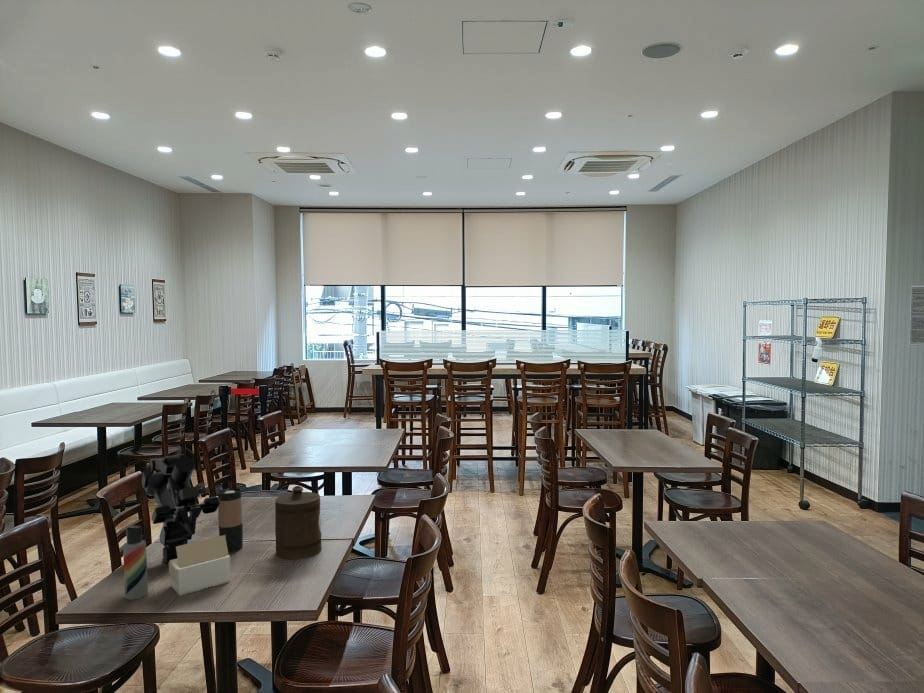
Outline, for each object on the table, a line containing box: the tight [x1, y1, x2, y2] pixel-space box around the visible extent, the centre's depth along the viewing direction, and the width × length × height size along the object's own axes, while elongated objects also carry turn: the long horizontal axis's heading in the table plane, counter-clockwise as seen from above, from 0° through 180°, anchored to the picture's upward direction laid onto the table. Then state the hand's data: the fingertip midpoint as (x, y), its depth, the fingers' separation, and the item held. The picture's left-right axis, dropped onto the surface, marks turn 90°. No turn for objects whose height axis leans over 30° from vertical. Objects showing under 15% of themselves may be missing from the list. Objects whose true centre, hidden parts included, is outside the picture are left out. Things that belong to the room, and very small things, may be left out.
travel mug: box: [217, 487, 244, 553], centre depth 206 cm, size 8×8×20 cm
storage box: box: [168, 554, 231, 597], centre depth 178 cm, size 10×15×8 cm, turn 130°
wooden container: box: [274, 485, 323, 560], centre depth 202 cm, size 15×15×22 cm
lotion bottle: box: [122, 525, 149, 601], centre depth 171 cm, size 6×6×20 cm
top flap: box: [176, 535, 230, 568], centre depth 175 cm, size 6×14×1 cm
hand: (193, 534), depth 183 cm, fingers closed
